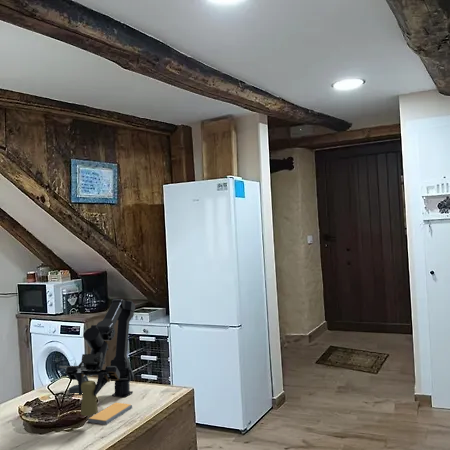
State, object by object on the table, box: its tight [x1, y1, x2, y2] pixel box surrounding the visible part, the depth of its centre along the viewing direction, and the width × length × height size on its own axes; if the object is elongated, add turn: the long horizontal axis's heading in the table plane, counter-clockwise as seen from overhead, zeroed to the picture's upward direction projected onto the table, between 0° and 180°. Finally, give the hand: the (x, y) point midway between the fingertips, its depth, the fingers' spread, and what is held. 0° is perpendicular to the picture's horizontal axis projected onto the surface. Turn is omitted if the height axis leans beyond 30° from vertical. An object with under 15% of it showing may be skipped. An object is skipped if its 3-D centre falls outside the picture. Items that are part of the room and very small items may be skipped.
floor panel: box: [87, 402, 133, 426], centre depth 194 cm, size 17×8×1 cm, turn 158°
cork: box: [80, 380, 99, 417], centre depth 181 cm, size 6×6×11 cm
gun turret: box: [58, 362, 93, 394], centre depth 225 cm, size 13×20×13 cm, turn 71°
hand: (87, 395), depth 180 cm, fingers closed on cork, 5 cm apart
